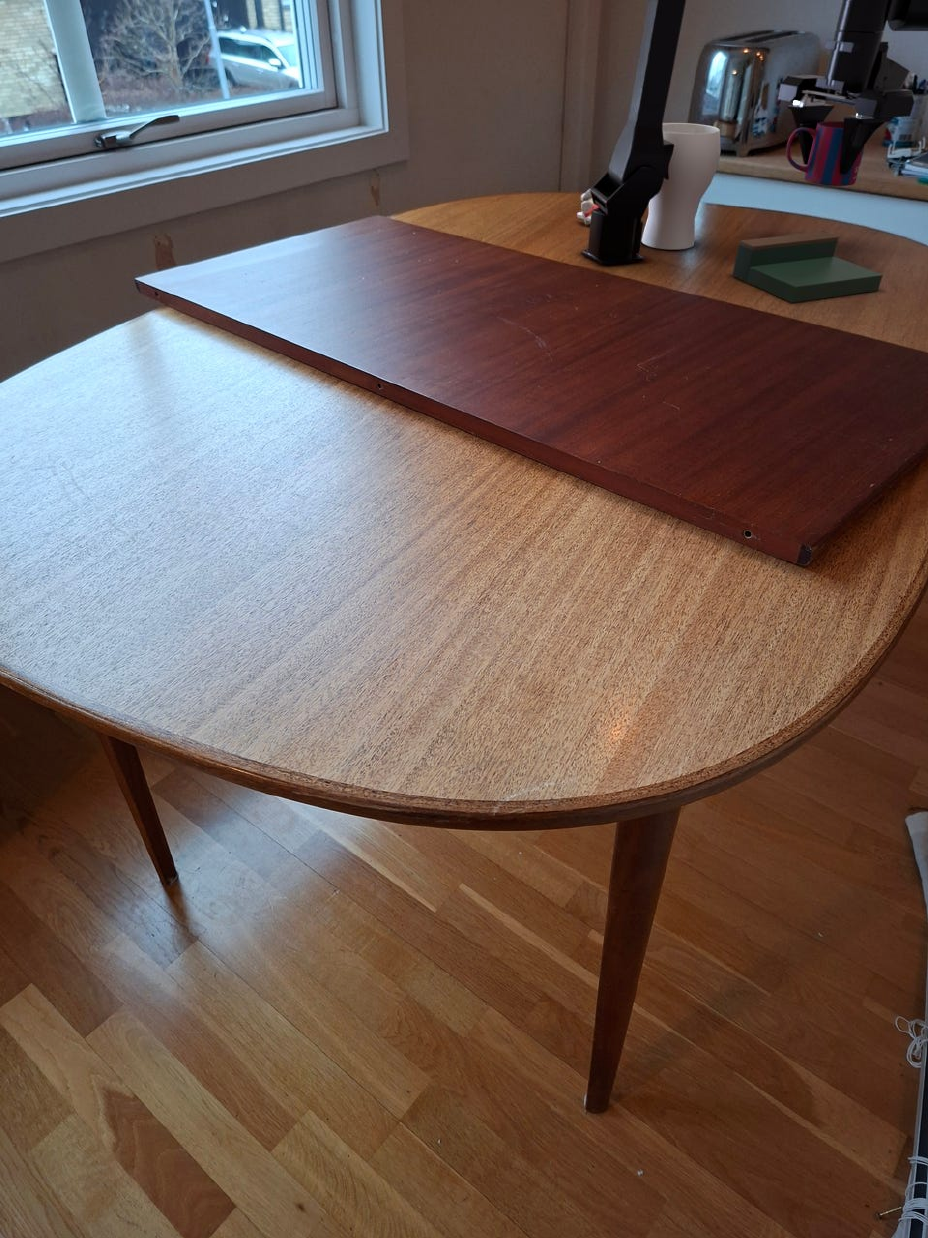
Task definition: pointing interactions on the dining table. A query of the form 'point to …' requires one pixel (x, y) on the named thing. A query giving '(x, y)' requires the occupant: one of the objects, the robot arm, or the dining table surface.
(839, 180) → the cup
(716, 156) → the cup
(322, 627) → the dining table surface
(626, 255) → the robot arm
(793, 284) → the green l-shaped stand
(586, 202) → the toy airplane
